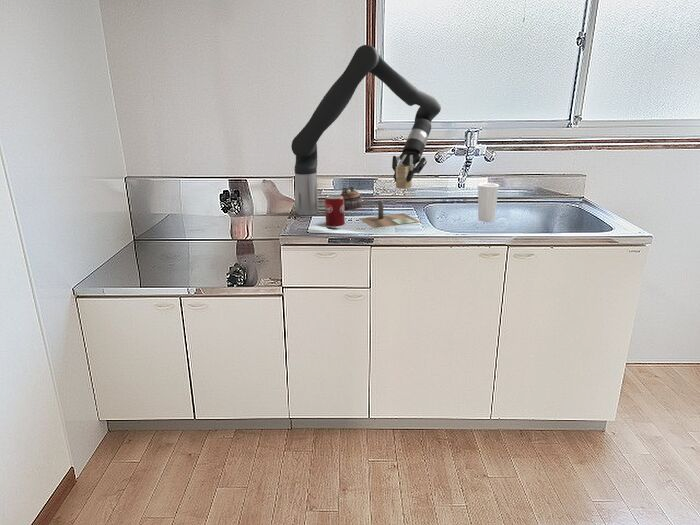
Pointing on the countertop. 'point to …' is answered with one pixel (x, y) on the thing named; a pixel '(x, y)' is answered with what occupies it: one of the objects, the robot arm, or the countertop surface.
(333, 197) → the soda can
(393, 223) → the post stand
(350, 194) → the cupcake
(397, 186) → the wooden collar
